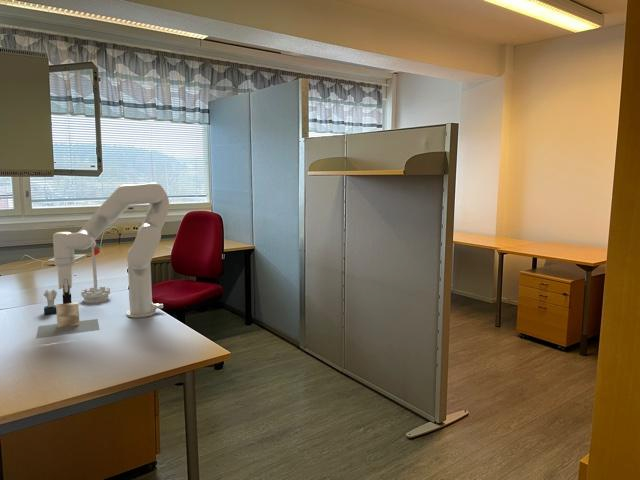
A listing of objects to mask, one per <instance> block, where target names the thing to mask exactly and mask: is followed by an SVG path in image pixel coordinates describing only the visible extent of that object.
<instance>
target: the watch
mask: <svg viewBox="0 0 640 480" xmlns="http://www.w3.org/2000/svg"><path fill="white" fill-rule="evenodd" d="M43 296H44V297H45V299H46V301H47V305H45V306H43V307H44V308H43V314H44V316H50V315H57V312H56V305H57V304H55V299H56V297H57V290H55V289H53V288H52V289H46V290H45V291H44V293H43Z"/></svg>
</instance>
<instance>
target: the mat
mask: <svg viewBox="0 0 640 480" xmlns="http://www.w3.org/2000/svg"><path fill="white" fill-rule="evenodd" d="M79 323H80V325H73V326H65V327H58V326H57V323H55V324H54V323H53V324H46V325H38V327H37V332H36V336H35V339H43V338H49V337H56V336H63V335H70V334H71V335H72V334H73V335H74V334H79V333H87V332H94V331H99V330H100V324H99V319H98V318H94V319H86V320H79Z"/></svg>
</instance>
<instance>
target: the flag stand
mask: <svg viewBox="0 0 640 480" xmlns="http://www.w3.org/2000/svg"><path fill="white" fill-rule="evenodd" d="M96 246H97V242H96V240H95V241H94V242H93V244H92V245H91V259H92V273H93V274H92V276H93V286H91V287H89V289H88V288H83V289H82V290H81V291H80V292H81V293H80V296H81V297H82V298H83V303H88V304H96V303H97V304H98V303H104V302H107V301H108V300H109V295H110V294H111V287H106V286H100V287H99V288H98V277H97V276H98V275H97V261H96V260H97V259H96V255H99V254H101V251H100V250H99V249H97V248H96Z"/></svg>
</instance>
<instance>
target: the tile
mask: <svg viewBox="0 0 640 480" xmlns="http://www.w3.org/2000/svg"><path fill="white" fill-rule="evenodd" d="M55 305H56V312H57V314H56V324H57V326H58V327H65V326H73V325H80V323H79V321H80V309H79V302H78V301H77V302H72V303H66V304H63V303H58V304H55Z"/></svg>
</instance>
